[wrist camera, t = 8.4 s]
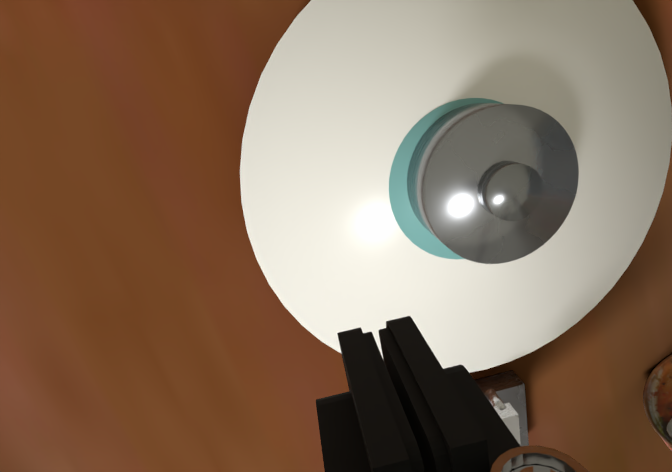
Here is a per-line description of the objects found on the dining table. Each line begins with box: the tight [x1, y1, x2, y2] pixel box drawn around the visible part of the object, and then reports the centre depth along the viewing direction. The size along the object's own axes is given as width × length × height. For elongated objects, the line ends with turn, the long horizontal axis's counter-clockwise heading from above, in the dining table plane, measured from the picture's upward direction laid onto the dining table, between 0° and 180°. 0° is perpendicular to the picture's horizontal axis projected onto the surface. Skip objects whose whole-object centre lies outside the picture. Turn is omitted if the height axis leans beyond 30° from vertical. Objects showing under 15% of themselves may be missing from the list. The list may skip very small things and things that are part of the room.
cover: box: [407, 103, 579, 264], centre depth 21 cm, size 7×7×4 cm
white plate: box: [240, 0, 672, 373], centre depth 24 cm, size 22×22×3 cm
